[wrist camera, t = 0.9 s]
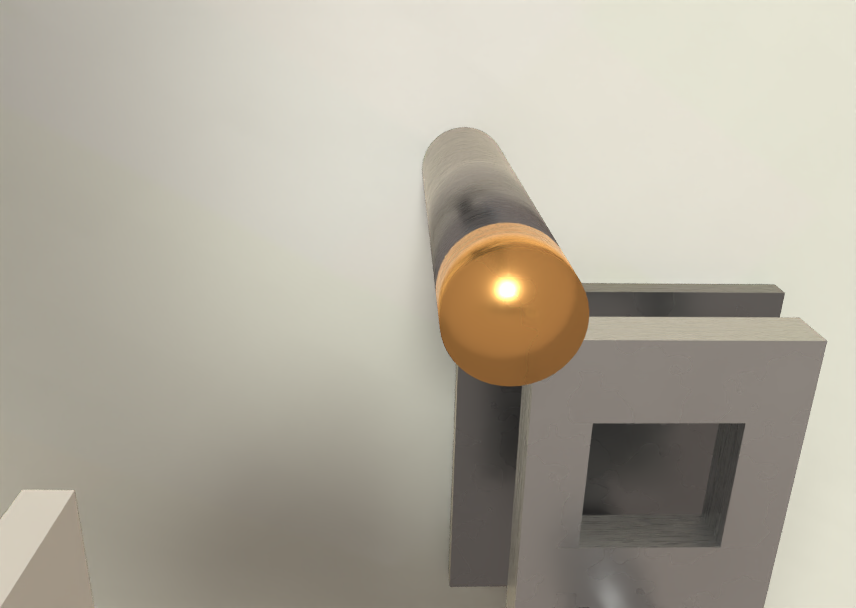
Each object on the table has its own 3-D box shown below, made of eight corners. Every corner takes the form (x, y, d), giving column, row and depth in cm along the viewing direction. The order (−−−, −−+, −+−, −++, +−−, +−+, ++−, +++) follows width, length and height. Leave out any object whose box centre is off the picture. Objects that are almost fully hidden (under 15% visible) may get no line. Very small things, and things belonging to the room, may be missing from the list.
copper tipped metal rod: (422, 126, 31) (441, 247, 17) (506, 127, 31) (596, 249, 17) (421, 208, 32) (437, 386, 18) (502, 209, 32) (582, 386, 18)
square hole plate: (460, 261, 33) (507, 481, 19) (778, 263, 34) (1072, 479, 19) (448, 572, 40) (477, 920, 25) (716, 570, 40) (898, 909, 26)
